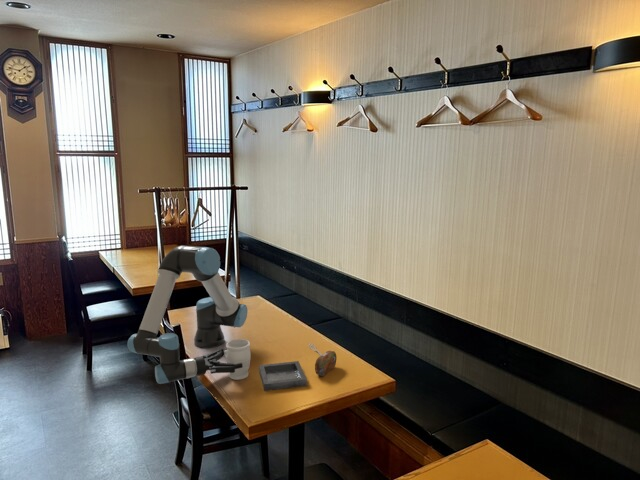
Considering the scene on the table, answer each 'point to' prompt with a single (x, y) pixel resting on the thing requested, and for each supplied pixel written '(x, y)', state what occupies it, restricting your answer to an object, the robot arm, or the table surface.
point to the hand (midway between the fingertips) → (243, 356)
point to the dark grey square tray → (282, 375)
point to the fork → (314, 348)
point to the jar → (238, 356)
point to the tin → (325, 363)
